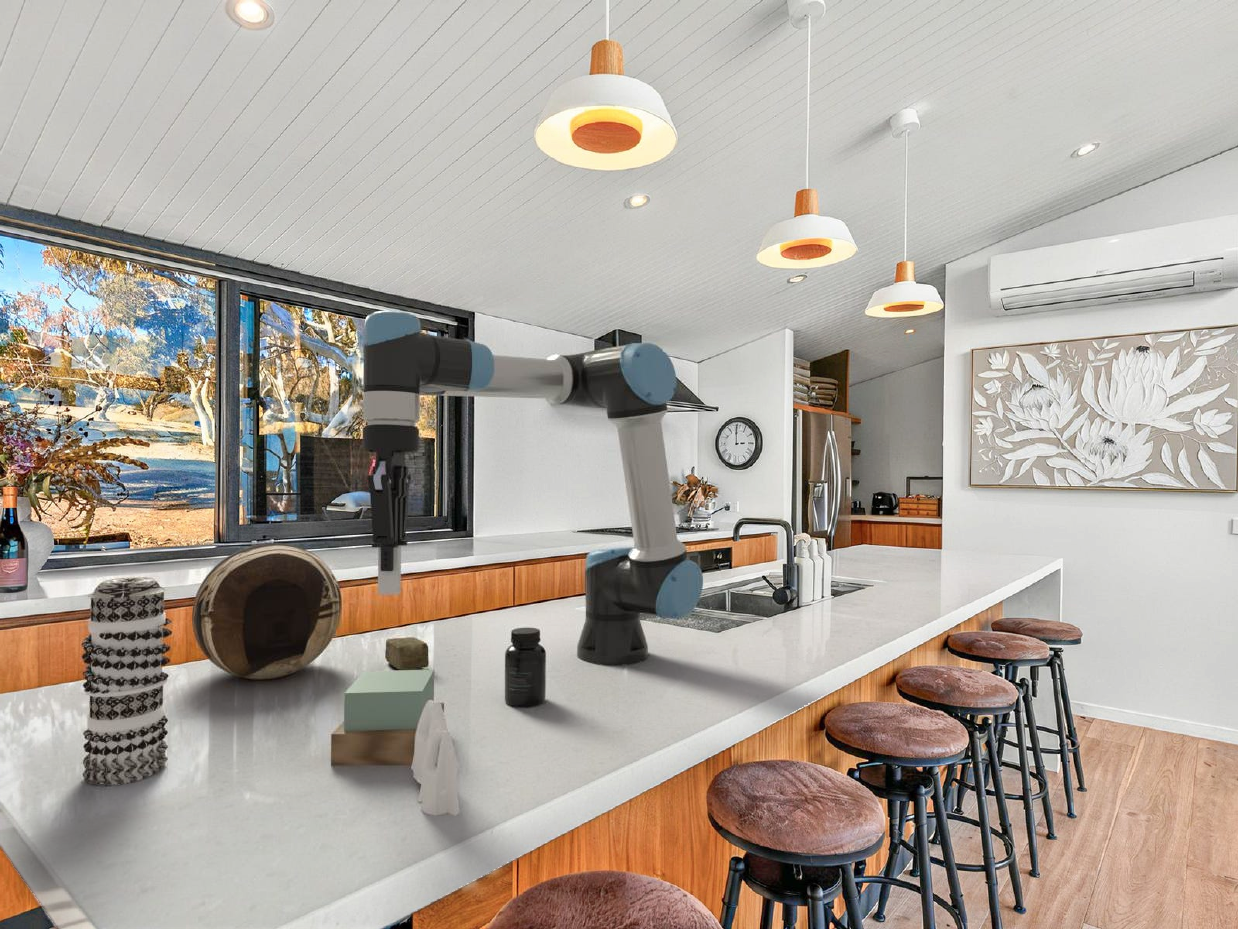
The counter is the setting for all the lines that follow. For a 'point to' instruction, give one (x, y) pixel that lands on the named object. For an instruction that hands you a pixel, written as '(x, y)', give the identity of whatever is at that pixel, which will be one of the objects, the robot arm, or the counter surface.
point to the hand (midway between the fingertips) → (389, 593)
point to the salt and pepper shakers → (435, 763)
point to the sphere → (266, 611)
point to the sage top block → (387, 700)
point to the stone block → (407, 653)
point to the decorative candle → (125, 681)
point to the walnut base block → (373, 746)
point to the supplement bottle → (525, 669)
